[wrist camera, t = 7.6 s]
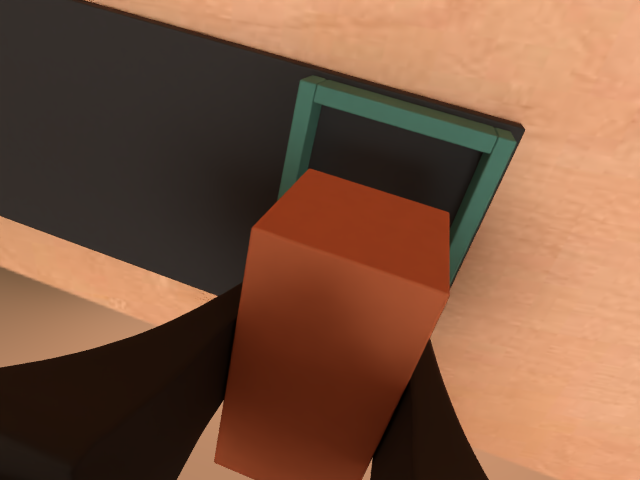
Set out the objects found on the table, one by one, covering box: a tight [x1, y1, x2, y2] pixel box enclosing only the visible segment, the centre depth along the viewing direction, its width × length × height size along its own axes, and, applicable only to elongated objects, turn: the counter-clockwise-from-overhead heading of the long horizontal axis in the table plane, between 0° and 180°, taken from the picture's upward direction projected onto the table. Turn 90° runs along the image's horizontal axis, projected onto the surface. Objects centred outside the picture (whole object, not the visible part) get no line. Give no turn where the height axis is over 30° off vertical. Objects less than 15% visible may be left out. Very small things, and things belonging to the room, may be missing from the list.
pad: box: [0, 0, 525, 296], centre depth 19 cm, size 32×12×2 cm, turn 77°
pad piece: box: [214, 169, 450, 480], centre depth 12 cm, size 4×8×4 cm, turn 167°
